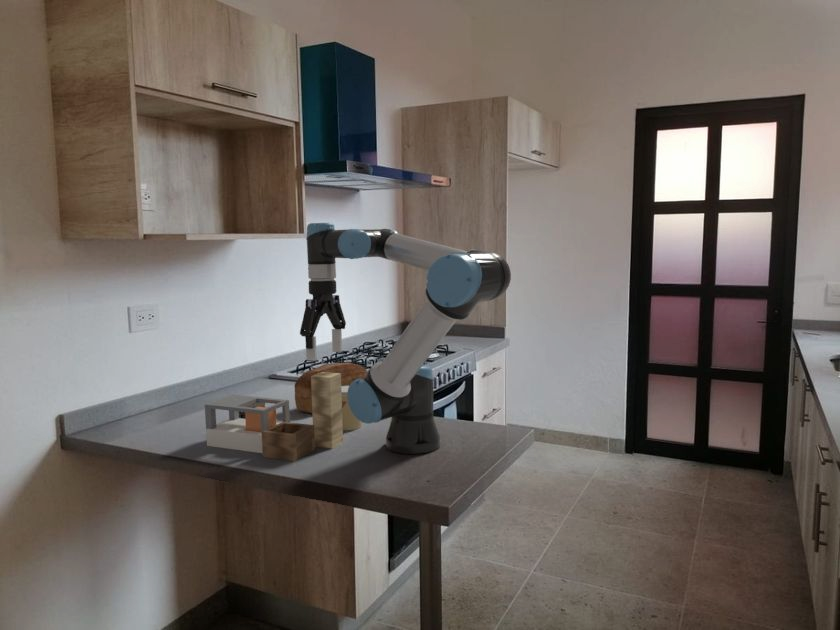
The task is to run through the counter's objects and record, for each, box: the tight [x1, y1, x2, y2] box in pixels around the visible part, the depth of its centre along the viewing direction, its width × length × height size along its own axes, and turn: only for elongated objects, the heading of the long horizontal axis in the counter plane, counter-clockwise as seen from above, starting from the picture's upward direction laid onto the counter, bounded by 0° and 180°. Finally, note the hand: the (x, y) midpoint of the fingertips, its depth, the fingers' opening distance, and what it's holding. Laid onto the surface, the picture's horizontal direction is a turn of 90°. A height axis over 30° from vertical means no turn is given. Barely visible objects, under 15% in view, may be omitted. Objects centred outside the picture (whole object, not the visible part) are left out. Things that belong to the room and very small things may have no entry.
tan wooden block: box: [311, 372, 344, 449], centre depth 186 cm, size 6×6×20 cm
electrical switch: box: [239, 402, 266, 419], centre depth 204 cm, size 9×5×9 cm, turn 113°
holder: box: [262, 421, 316, 462], centre depth 179 cm, size 10×10×7 cm
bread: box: [294, 362, 368, 414], centre depth 229 cm, size 12×28×14 cm, turn 140°
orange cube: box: [245, 406, 277, 432], centre depth 187 cm, size 6×6×6 cm
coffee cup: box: [341, 386, 363, 432], centre depth 203 cm, size 9×9×12 cm
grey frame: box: [204, 394, 291, 454], centre depth 188 cm, size 20×12×12 cm, turn 67°
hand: (324, 356), depth 184 cm, fingers open, 13 cm apart
